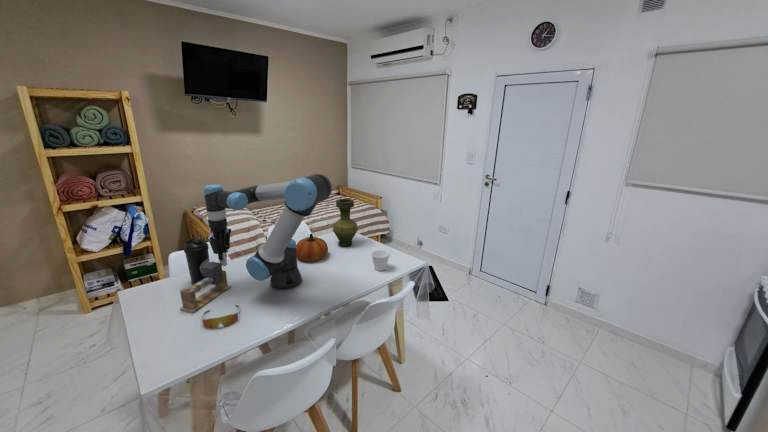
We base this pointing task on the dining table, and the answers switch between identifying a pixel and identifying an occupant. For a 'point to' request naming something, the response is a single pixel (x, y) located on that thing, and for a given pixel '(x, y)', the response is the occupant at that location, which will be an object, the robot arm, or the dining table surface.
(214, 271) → the collar
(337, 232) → the vase
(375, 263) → the cup
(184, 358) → the dining table surface
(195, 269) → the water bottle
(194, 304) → the rail
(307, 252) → the pumpkin
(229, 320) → the sunglasses
